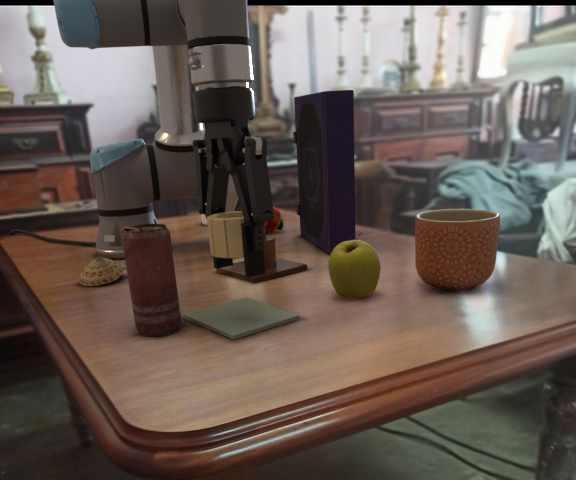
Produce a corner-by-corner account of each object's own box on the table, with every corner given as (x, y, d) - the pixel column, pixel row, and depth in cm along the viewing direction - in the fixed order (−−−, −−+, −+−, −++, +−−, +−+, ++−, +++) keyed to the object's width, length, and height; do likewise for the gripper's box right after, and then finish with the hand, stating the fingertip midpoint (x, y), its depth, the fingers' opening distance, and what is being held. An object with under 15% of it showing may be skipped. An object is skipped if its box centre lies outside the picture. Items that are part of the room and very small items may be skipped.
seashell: (135, 262, 110) (110, 254, 103) (133, 292, 110) (107, 286, 103) (98, 261, 113) (71, 253, 105) (96, 290, 113) (68, 285, 105)
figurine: (256, 246, 149) (208, 225, 139) (267, 210, 149) (220, 186, 139) (280, 247, 142) (231, 225, 132) (291, 209, 142) (243, 184, 132)
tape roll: (201, 253, 80) (197, 216, 78) (244, 244, 84) (241, 209, 82) (229, 260, 75) (225, 221, 73) (274, 251, 79) (271, 213, 77)
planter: (450, 301, 85) (454, 225, 81) (397, 283, 95) (398, 215, 91) (513, 286, 90) (519, 214, 86) (456, 271, 100) (459, 206, 96)
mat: (183, 318, 84) (182, 314, 84) (245, 300, 91) (245, 297, 90) (233, 339, 75) (233, 335, 75) (299, 319, 81) (299, 315, 81)
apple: (356, 277, 96) (366, 220, 90) (384, 302, 90) (396, 243, 84) (314, 285, 93) (321, 227, 87) (340, 312, 87) (349, 252, 81)
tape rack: (216, 272, 109) (208, 195, 104) (268, 260, 116) (263, 187, 111) (254, 283, 100) (247, 199, 95) (307, 269, 107) (304, 190, 102)
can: (138, 324, 83) (122, 224, 78) (183, 320, 83) (170, 221, 78) (131, 339, 77) (113, 232, 72) (179, 335, 78) (165, 228, 72)
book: (357, 252, 118) (355, 89, 107) (327, 255, 117) (322, 91, 106) (323, 233, 140) (319, 95, 129) (298, 235, 138) (291, 97, 127)
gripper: (157, 94, 77) (179, 265, 86) (243, 80, 63) (259, 288, 71) (206, 92, 82) (222, 256, 90) (297, 79, 67) (307, 276, 75)
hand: (239, 270), depth 80 cm, fingers closed on tape roll, 7 cm apart
